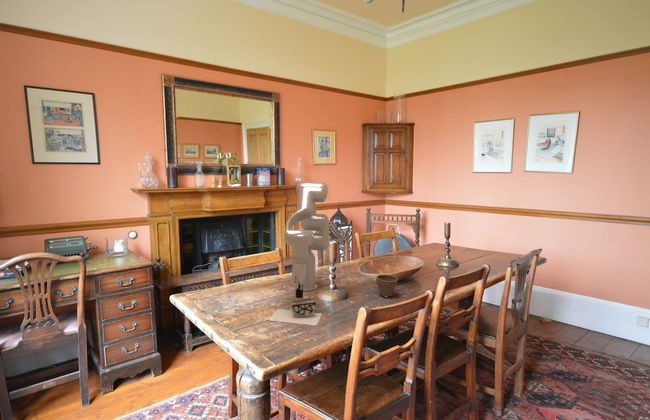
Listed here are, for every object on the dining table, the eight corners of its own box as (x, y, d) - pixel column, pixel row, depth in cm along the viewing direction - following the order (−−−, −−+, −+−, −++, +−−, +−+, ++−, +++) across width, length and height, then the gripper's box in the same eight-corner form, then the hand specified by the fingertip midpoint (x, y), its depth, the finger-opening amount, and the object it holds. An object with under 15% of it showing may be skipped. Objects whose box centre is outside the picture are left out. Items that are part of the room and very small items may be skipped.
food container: (289, 314, 172) (291, 319, 162) (289, 301, 173) (290, 305, 163) (315, 311, 175) (318, 315, 165) (314, 298, 175) (317, 302, 165)
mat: (277, 309, 173) (277, 308, 173) (322, 314, 169) (322, 313, 169) (268, 320, 161) (268, 320, 161) (316, 326, 157) (316, 325, 157)
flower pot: (401, 297, 194) (402, 279, 192) (384, 300, 189) (385, 282, 187) (388, 290, 204) (389, 273, 203) (371, 293, 199) (372, 275, 197)
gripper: (296, 255, 175) (295, 291, 178) (287, 263, 161) (286, 302, 163) (311, 256, 174) (310, 292, 176) (303, 264, 159) (303, 304, 162)
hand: (299, 297), depth 170 cm, fingers closed
